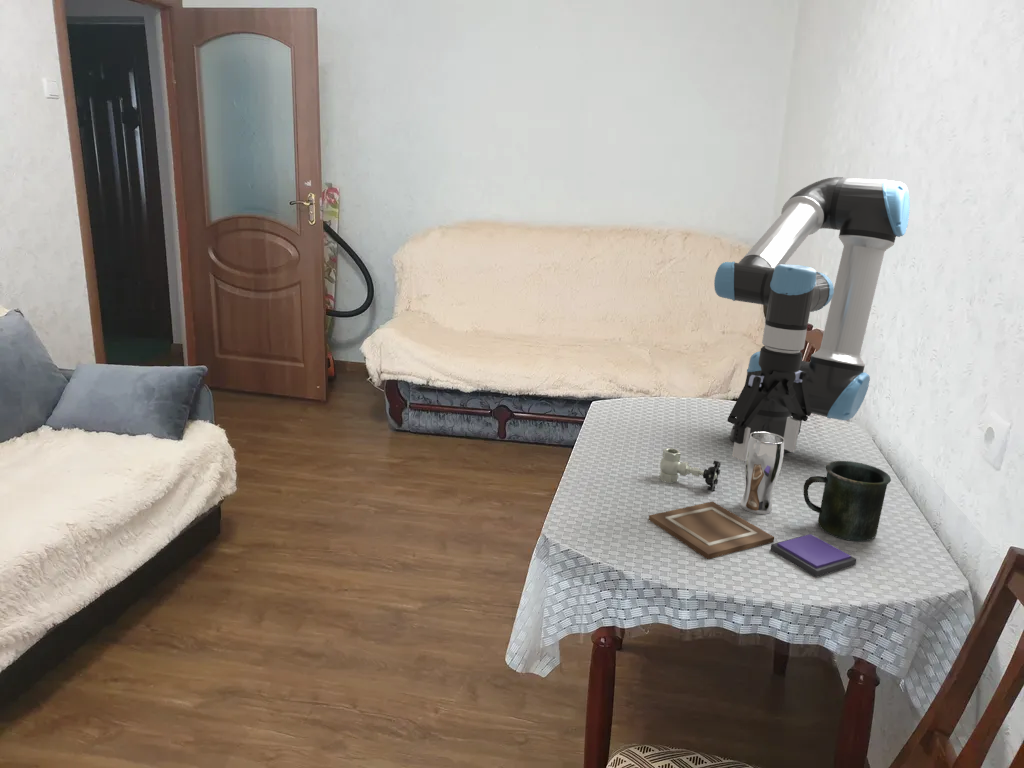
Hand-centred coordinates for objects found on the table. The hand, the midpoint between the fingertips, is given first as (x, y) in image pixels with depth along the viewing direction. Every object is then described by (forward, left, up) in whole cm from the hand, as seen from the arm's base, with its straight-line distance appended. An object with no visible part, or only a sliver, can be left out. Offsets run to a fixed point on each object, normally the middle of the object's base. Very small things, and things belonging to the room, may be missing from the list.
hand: (764, 454), depth 151 cm
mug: (-8, +13, -12) cm, 19 cm away
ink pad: (+6, +19, -12) cm, 23 cm away
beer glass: (0, 0, -12) cm, 12 cm away
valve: (+5, -15, -12) cm, 20 cm away
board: (+16, +4, -12) cm, 20 cm away
